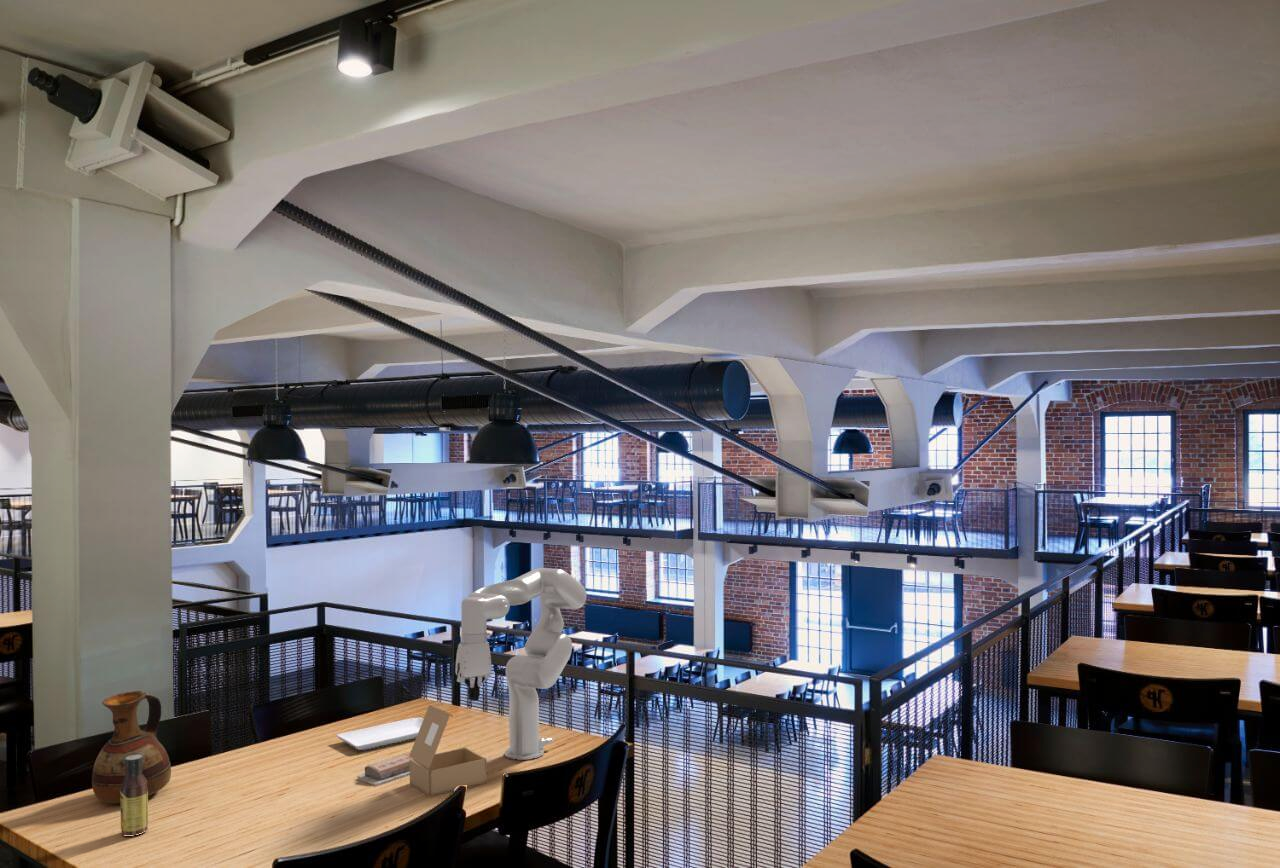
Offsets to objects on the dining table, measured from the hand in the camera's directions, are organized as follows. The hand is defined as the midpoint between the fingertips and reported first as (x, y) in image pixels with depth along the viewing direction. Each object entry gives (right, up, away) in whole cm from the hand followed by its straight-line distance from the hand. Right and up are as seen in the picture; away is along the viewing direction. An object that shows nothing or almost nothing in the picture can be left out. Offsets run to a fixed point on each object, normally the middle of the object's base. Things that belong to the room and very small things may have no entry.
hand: (474, 699), depth 281 cm
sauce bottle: (-81, -24, -40) cm, 93 cm away
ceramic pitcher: (-96, -24, -13) cm, 100 cm away
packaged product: (-26, -24, +3) cm, 35 cm away
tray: (-36, -25, +38) cm, 58 cm away
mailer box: (-7, -23, -6) cm, 25 cm away
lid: (-10, -9, -8) cm, 16 cm away
